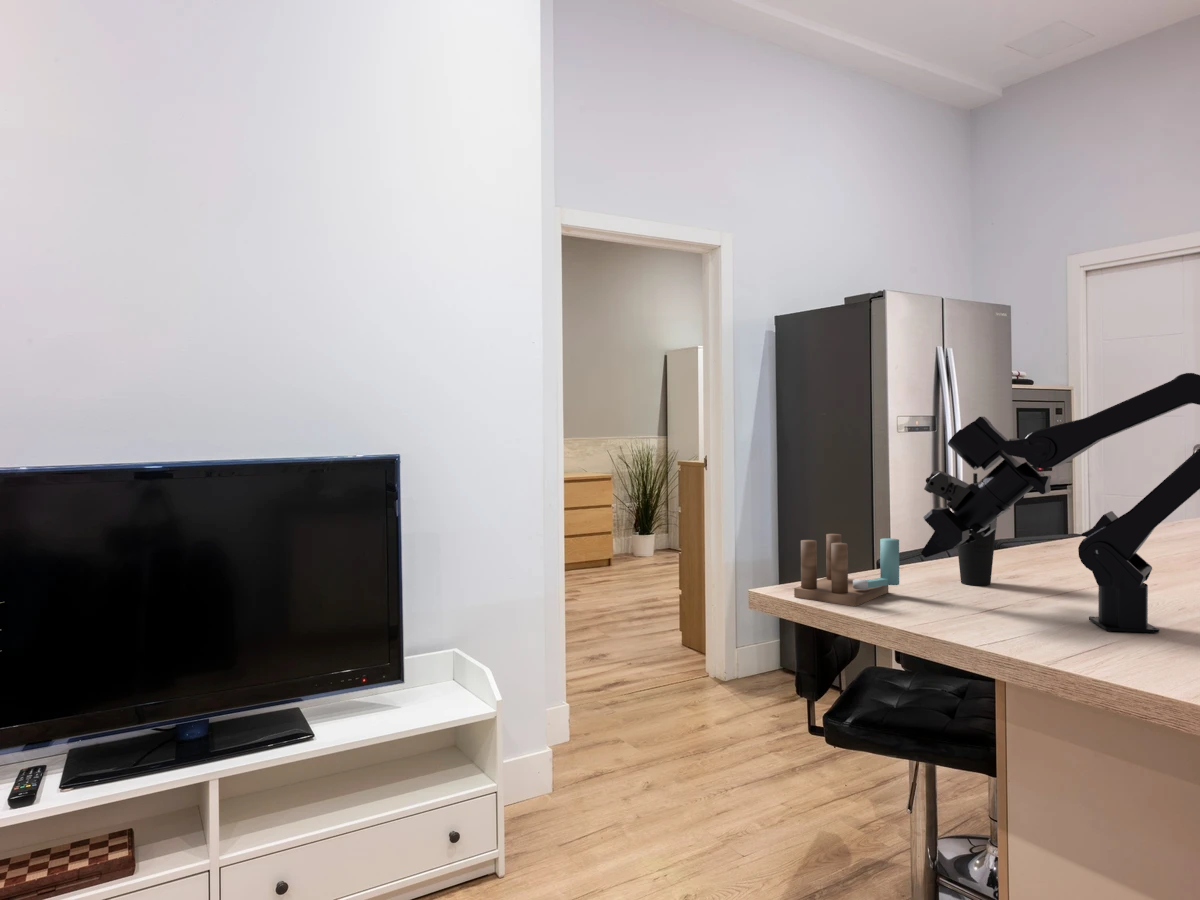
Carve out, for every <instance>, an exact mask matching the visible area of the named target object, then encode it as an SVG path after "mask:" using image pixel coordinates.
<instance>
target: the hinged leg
mask: <svg viewBox="0 0 1200 900" xmlns="http://www.w3.org/2000/svg"><path fill="white" fill-rule="evenodd" d="M879 541H880V542H879V543H880V546H879V548H880V549H879V552H880V553H879V554H880V559H879V560H880V561H879V563H880V572H879V574H880V576H879V577H878V578H872V579H855V580H853V588H854V589H859V590H865V589H868V588H872V587H879V586H885V585H888V586H899V585H900V539H898V538H889V537H886V538H880V539H879Z"/></svg>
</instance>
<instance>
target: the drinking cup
mask: <svg viewBox="0 0 1200 900" xmlns="http://www.w3.org/2000/svg"><path fill="white" fill-rule="evenodd" d="M972 475H973V476H972V483H973V484H975V483H977V482H978V473H977V472H974V473H973V474H972ZM951 511H952V512H953V513H954V512H955V511H954V510H952V509H951ZM996 520H997V521H998V518H996ZM996 531H997V528H996V529H995V530H994V531H992V532H991V533H990V534H989V535H987V536H984V537H983V536H982V535H981V533H982V532H983V531H981V532H978V533H975V532H974V531H973V530H972V534H971V535H972V536H973V537H974V538H975V541H973V542H970V543H967V544H965V545H962V546H959V547H956V548H957V555H958V565H959V567H958V568H959V575H960V576H959V577H960V583H961V584H964V585H967V586H975V587H976V586H977V587H987V586H991V582H992V575H993V574H992V572H993V564H994V563H993V560H994V553H995V544H996V543H995V542H996V541H995V540H996Z"/></svg>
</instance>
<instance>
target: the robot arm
mask: <svg viewBox="0 0 1200 900" xmlns="http://www.w3.org/2000/svg"><path fill="white" fill-rule="evenodd" d="M1193 404H1194V405H1198V406H1200V374H1197V373H1194V372H1185V373H1181V374H1179V375H1177V376H1175V378H1173V379H1172V380H1169V381H1166V382H1165V383H1163V384H1160V385H1158V386H1156V387H1153V388H1151V389H1149V390H1146V391H1144V392H1142V393H1140V394H1137V395H1135V396H1133V397H1130V398H1128V399H1126V400H1123V401H1120V402H1119V403H1117V404H1115V405H1112V406H1109V407H1108V408H1105V409H1102V410H1100V411H1098V412H1096V413H1093V414H1091V415H1089V416H1086V417H1084V418H1080V419H1076V420H1071V421H1068V422H1063V423H1059V424H1056V425H1052V426H1048V427H1045V428H1040V429H1037V430H1034V431H1032V432H1030V433H1028V434H1027V436H1026V437H1024V438H1023V439H1019V438H1018V437H1017V438H1016V437H1015V438H1009V439H1008V437H1006V436H1005V435H1003V434H1002V433H1001V431H999V430H998V429H997V428H996V427H995V426H994V425H993V424H992V422H991V421H990V420H989V419H988V418H987V417H986V416H978V417H977V418H976V419H975V420H973V421H972V422H970V423H969V424H967V425H966V426H964V427H963V428H961V429H959V430H957V431H956V433H955V434H953V435H952V437H951V438H950V439H949V440H948V442H947V445H948V446H949V447H950V448H951V449H952V450H953V451H954V452H955V453H956V455H958V456H959V457H960V458H961V459H962V460H963V461H964V462H965V463H966V464H967V465H968V466H969V467H970V468H971V469H972V470H974V471H976V470H979V468H981V469H982V471H988V470H989V469H991V468H992V467H994V465H995V467H994V468H993V469H992V470H991V471H989V473H987V474H986V475H985V476H984V477H983V478H981V480H980V481H977V483H975V484H973V482H972V483H970V484H968V483H967V482H965V481H963V480H962V479H959V478H957V477H955V476H954V475H951V474H949V473H947V472H944V471H941V470H937V471H936V470H934V471H932V472H931V474H930V475H929V476H928V477H926V479H925V483H926V484H925V486H924V488H923V489H924V491H925V492H927V493H929V494H934V495H936V496H938V497H940V498H942V499H944V500H945V501H948V502H947V503H946V506H948V507H942V506H939V507H936V508H932V509H931V510H930V511H929V512H927V513H925V515H924V516H923V520H924V522H926V523H927V524H928V525H929V527H931V528H932V529H933V531H934V532H933V533H932V535H931V536H930V538H929V540H928V541H927V542H926V544H925V546H923V549H922V550H921V551H920V554H921V555H922V556H923V558H926V559H927V558H929V557H931V556H934V555H938V554H941V553H943V552H947V551H950V550H952V549H955V548H957V547H959V546H962V545H965V544H967V543H970V542H973V541H975V538H974V537H973V536H972V535H971V534H972V530H973V531H974V532H975V533H978V532H981V531H983V532H982V533H981V535H982V536H983V537H984V536H987V535H989V534H990V533H991V532H992V531H994V530H995V529H996V530H997V528H998V527H997V526H998V525H997V524H998V523H997V522H998V518H999V517H1000V516H1001V515H1004V514H1006V513H1007V512H1009V511H1010V510H1011V507H1012V506H1013V505H1014V504H1015V503H1017V502H1018V501H1019V500H1020V499H1021V498H1023V497H1024V496H1025V495H1026V494H1028V493H1029V492H1030V491H1031V490H1032V489H1033V488H1034V489H1035V490H1036V491H1037V492H1038V493H1039V494H1040V495H1045V494H1049V493H1051V491H1052V489H1051V479H1052V476H1051V475H1048V474H1047V475H1044V474H1043V475H1042V474H1040V473H1039V471H1038V470H1036V469H1035V468H1038V469H1043V470H1044V469H1050V468H1056V467H1060V466H1063V465H1064V464H1067V463H1068V462H1070V461H1071V460H1073V459H1075V458H1076V457H1078V456H1079V455H1081V454H1083V453H1084V452H1086V451H1088V450H1089V449H1090V448H1093V446H1095V445H1096V444H1098V443H1100V442H1101V441H1103V440H1106V439H1107V438H1110V437H1112V436H1115V435H1117V434H1120V433H1122V432H1125V431H1127V430H1129V429H1132V428H1135V427H1136V426H1139V425H1142V424H1144V423H1147V422H1149V421H1151V420H1153V419H1156V418H1158V417H1159V418H1160V417H1161V416H1163V415H1166V414H1169V413H1171V412H1174V411H1176V410H1178V409H1180V408H1183V407H1185V406H1188V405H1193ZM1015 457H1017V458H1021V459H1025V462H1022V463H1021V462H1019V461H1018V460H1017V459H1016V458H1015ZM1002 459H1003V460H1002ZM1000 460H1002V461H1001V462H1000V463H999V464H998V465H996V464H997V463H998V462H999V461H1000ZM1034 467H1035V468H1034ZM1199 490H1200V447H1199V448H1198V449H1197V450H1196V451H1195V452H1194V453H1193V454H1192V455H1190V456H1189V457H1188V458H1187V459H1186V460H1185V461H1183V462H1182V463H1181V464H1180V465H1179V466H1178V467H1177V468H1176V469H1174V471H1172V472H1171V473H1170V474H1169V475H1168V476H1167V477H1166V478H1164V480H1162V481H1161V482H1160V483H1159V484H1158V485H1157V486H1155V488H1153V489H1152V490H1151V491H1150V492H1149V493H1147V495H1145V497H1143V498H1142V499H1141V500H1140V501H1138V502H1137V504H1135V505H1134V506H1133V507H1132V508H1131V509H1130V510H1129V511H1127V512H1125V513H1123V514H1122V515H1121V516H1119V517H1118V515H1116V514H1115V513H1114V511H1112V510H1111V511H1108V512H1107V513H1104V514H1102V515H1101V517H1100V518H1099V519H1098V521H1096V523H1095V524H1094V526H1093V527H1092V528H1090V529H1087V530H1086V531H1084V532H1082V533H1081V536H1082V537H1084V539H1082V541H1081V542H1079V546H1078V558H1079V559H1080V560H1079V561H1080V563H1081V564H1083V566H1084V567H1085V568H1086V569H1088V570H1090V571H1091V572H1092V574H1093V577H1094V579H1095V582H1096V585H1097V586H1098V590H1097V591H1098V594H1097V595H1098V609H1097V610H1098V616H1092V615H1091V616H1088V621H1090V622H1091V623H1093V624H1095V625H1097V626H1098V627H1100V628H1102V629H1103V630H1105V631H1108V632H1131V633H1132V632H1134V633H1155V634H1157V633H1159V632H1160V629H1159V628H1157V627H1156V626H1154V625H1153V624H1151V623H1148V619H1149V618H1148V617H1149V616H1148V615H1149V612H1148V611H1149V609H1148V606H1149V604H1148V603H1149V602H1148V601H1149V594H1148V593H1149V592H1148V590H1149V588H1148V587H1149V584H1147V583H1145V582H1146V581H1148V579H1149V576H1150V575H1151V573H1152V570H1153V567H1152V566H1151V564H1149V563H1148V562H1147V561H1146V559H1144V558H1142V557H1141V556H1140V554H1138V551H1139V550H1140V549H1141V547H1142V546H1143V545H1144V543H1145V542H1146V541H1147V539H1148V538H1149V537H1150V535H1151V534H1152V532H1154V530H1155V528H1157V527H1158V526H1159V525H1160V524H1161V523H1162V522H1163V521H1164V520H1166V519H1167V518H1168V517H1169V516H1170V515H1172V514H1173V513H1174V511H1176V510H1177V509H1179V507H1181V506H1182V505H1183V504H1184V503H1186V501H1187V500H1189V499H1190V498H1191V497H1192V496H1193V495H1195V494H1196V493H1197V492H1198V491H1199ZM952 510H954V511H955V512H954V511H952ZM996 518H997V520H996Z"/></svg>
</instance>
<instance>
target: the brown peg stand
mask: <svg viewBox="0 0 1200 900" xmlns="http://www.w3.org/2000/svg"><path fill="white" fill-rule="evenodd" d="M825 536H826V538H825V541H826V542H825V545H826V547H825V548H826V553H825V554H826V557H825V558H826V565H825V566H826V568H825V569H826V570H825V571H826V577H824V578H820V579H818V566H817V565H818V559H817V558H818V557H817V555H818V552H817V550H818V549H817V548H818V546H817V540H815V539H801V540H800V585H799V586H796V587H794V588H793V590H794V591H793V595H794V596H793V597H794V598H799V599H806V600H812V601H819V602H823V603H825V602H826V603H832V604H837V605H838V604H839V605H846V606H851V607H857V606H859V605H862V604H865V603H867V602H869V601H871V600H874V599H877V598H878V597H880V596H883V595H885V594H887V593H889V585H885V586H879V587H872V588H868V589H865V590H859V589H854V588H853V580H856V579H854V578H849V564H848V563H849V557H848V556H849V555H848V553H849V552H848V551H849V547H848V546H849V544H848V543H846V542H842V534H840V533H826V534H825Z"/></svg>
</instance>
